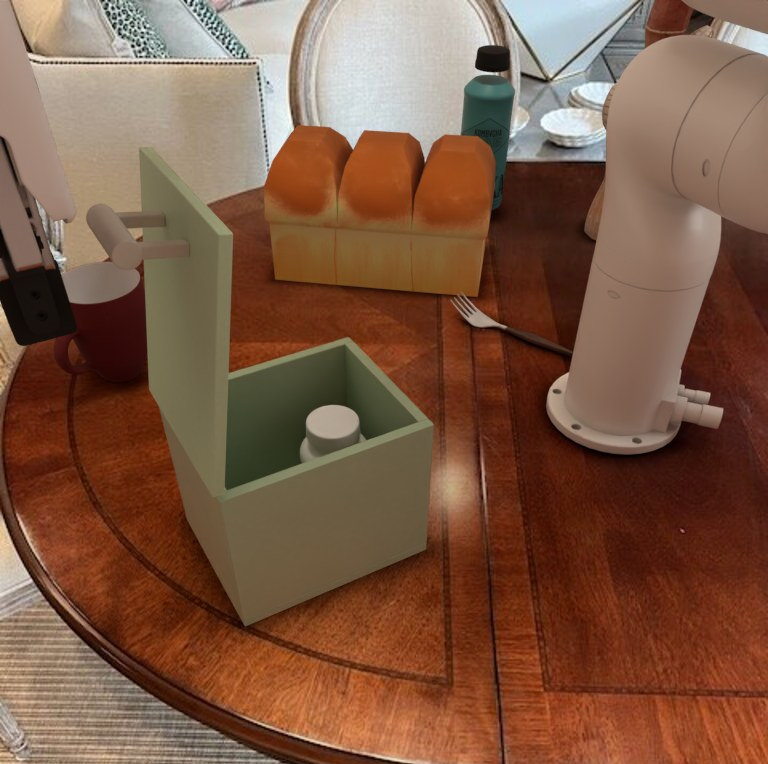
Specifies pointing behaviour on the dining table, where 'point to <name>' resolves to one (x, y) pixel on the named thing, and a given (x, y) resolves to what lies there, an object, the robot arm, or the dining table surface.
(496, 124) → the beverage bottle
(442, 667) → the dining table surface
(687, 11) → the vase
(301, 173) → the bread
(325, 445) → the pill bottle
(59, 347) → the mug
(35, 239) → the robot arm
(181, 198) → the lid
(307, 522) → the caddy
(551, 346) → the fork
